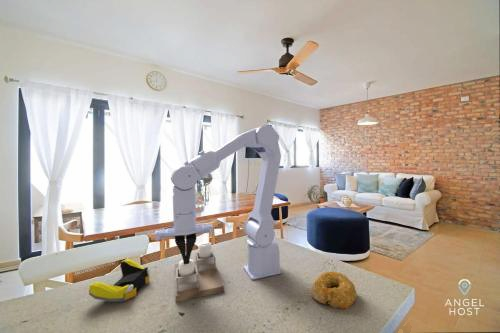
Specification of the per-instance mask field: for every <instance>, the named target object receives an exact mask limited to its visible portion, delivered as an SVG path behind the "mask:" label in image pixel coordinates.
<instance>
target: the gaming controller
mask: <svg viewBox="0 0 500 333" xmlns="http://www.w3.org/2000/svg"><path fill="white" fill-rule="evenodd" d="M120 270H121V275H122V276H121V277H120V279H118V280H117V281H115V283H114V284H108V283H105V282H100V281H93V282H91V283H90V284H89V288H88V295H89V296H90V297H92V298H93V299H95V300H99V301H100V300H101V301H106V302H117V303H123V302H125V301H128V300H129V299H132V298H133V297H136V296H137V294H138V293H139V292H141V290H142V289H143V287H145V286H146V284H148V283H149V281H150V270H151V267H149V266H146V267H143V266H141V265H140V264H138V262H136V261H134V260H132V259H128V258H126V259H124V260H122V261H120Z"/></svg>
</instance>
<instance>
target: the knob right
mask: <svg viewBox="0 0 500 333" xmlns="http://www.w3.org/2000/svg"><path fill="white" fill-rule="evenodd" d="M197 246H198V248H197V249H198V251H197V252H198V253H199V259H204V258H209V257H212V242H210V241H203V242H200V243H198V245H197Z"/></svg>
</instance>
